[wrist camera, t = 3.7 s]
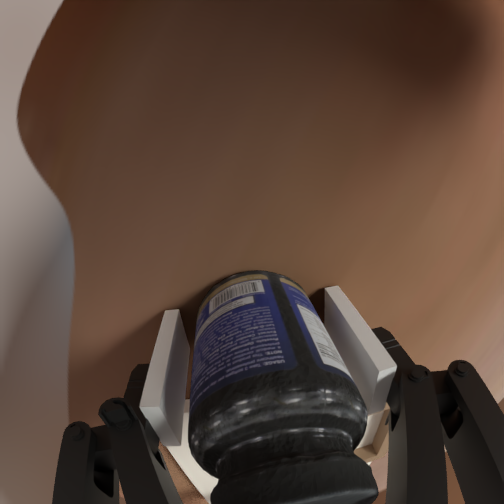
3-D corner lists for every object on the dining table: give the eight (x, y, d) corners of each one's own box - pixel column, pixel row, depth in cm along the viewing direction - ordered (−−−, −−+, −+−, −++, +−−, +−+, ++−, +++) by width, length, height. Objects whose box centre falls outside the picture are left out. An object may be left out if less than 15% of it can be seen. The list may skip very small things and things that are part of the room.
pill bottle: (193, 355, 16) (184, 541, 6) (203, 258, 14) (178, 490, 4) (295, 362, 17) (349, 527, 7) (323, 272, 15) (445, 452, 4)
